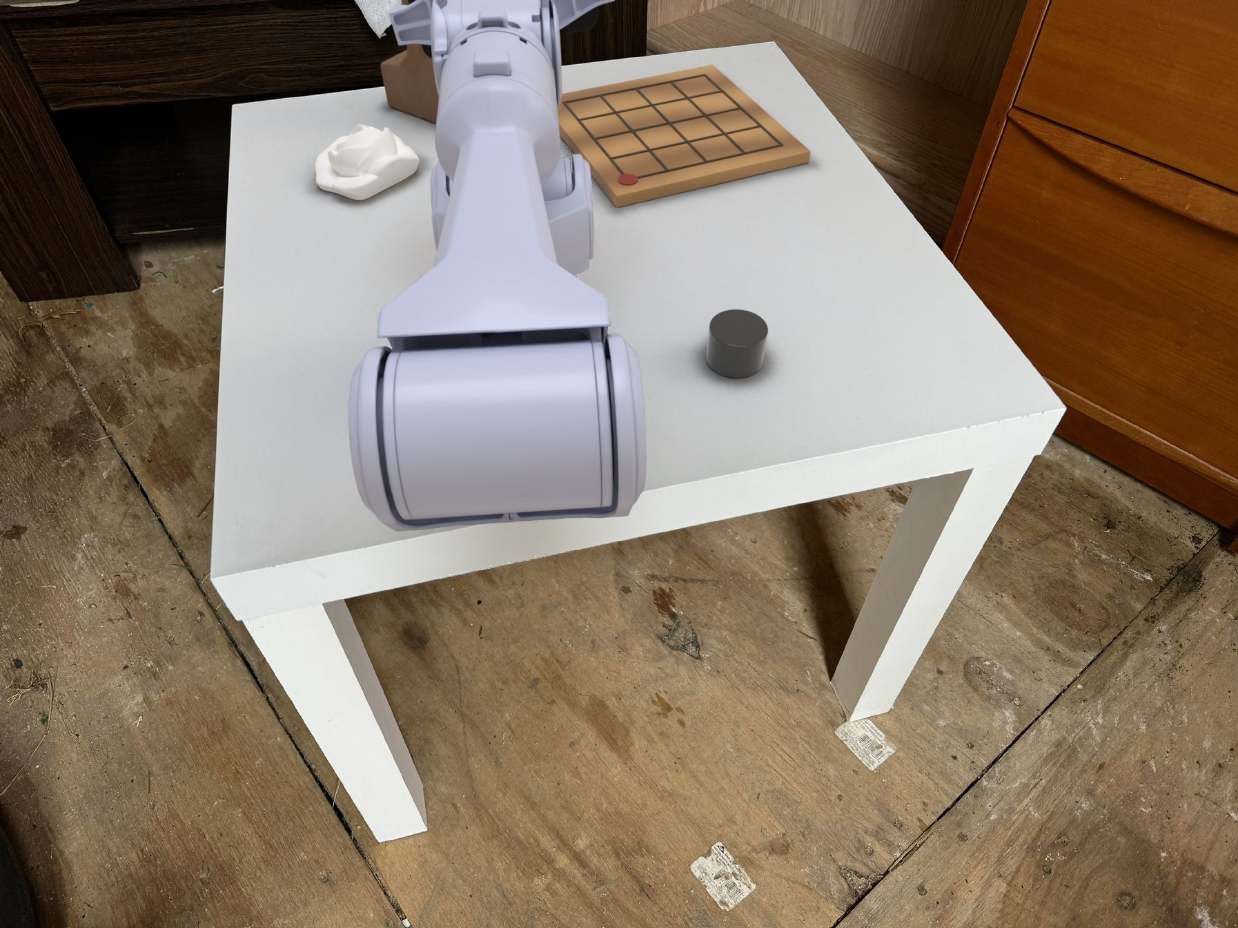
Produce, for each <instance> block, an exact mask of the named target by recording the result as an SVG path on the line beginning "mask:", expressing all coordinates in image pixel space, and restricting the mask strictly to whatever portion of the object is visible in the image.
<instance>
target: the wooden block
mask: <svg viewBox="0 0 1238 928" xmlns="http://www.w3.org/2000/svg"><path fill="white" fill-rule="evenodd" d="M400 1H401V5H409V3H408V0H400ZM380 72H381V75H382V80H383V87H384V92H385V97H386V102H387V105H388V106H389V107H391V108H393V109H396V110H399V111H402V112H405V113H407V114H410V115H413V116H415V117H418V118H420V119H423V120H427V121H429V122H431V123H435V124H436V120H437V112H438V101H439V95H438V92H437V87H436V82H435V76H434V69H433V60H432V58H430V57H428V56H427V55H426V54H425V53H424V51H423V49H422V46H421V44H407V45H406V50H404V51H402V52H400V53H397V54H395V55H394V56H392V57H390V58H388V59H386V60H384V61H382V62H381V63H380Z"/></svg>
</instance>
